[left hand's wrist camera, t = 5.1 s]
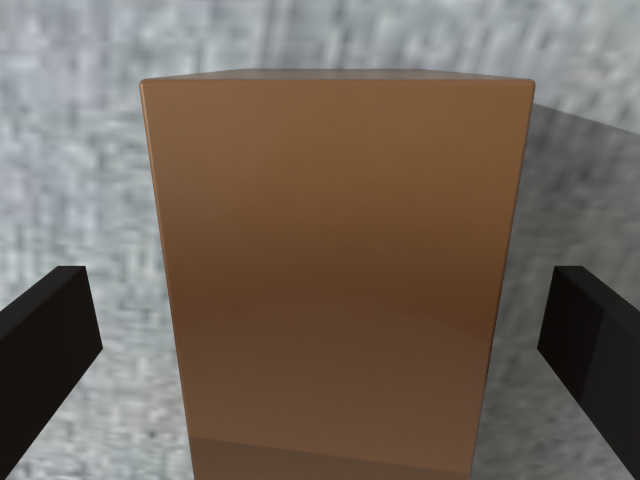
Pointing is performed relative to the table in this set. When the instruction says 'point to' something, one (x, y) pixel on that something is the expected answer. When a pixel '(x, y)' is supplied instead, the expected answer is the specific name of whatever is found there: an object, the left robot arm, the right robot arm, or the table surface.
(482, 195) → the post
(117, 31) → the table surface
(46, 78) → the table surface
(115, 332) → the table surface
